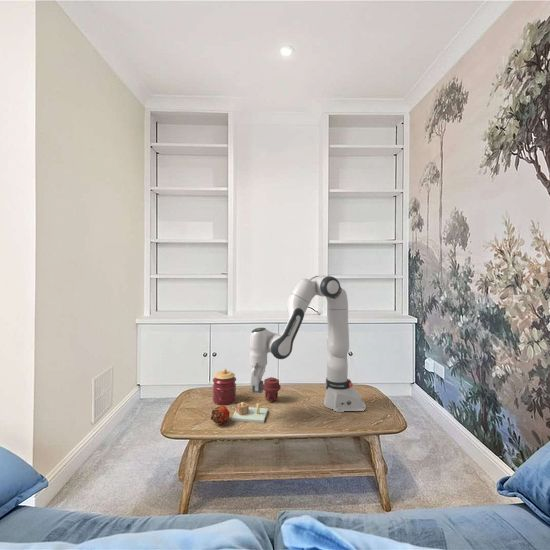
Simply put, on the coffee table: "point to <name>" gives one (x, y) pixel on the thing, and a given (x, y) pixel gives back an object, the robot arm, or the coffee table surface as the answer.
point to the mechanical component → (271, 388)
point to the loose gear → (259, 388)
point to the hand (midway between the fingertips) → (258, 387)
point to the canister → (224, 387)
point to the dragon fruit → (220, 415)
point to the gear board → (249, 413)
